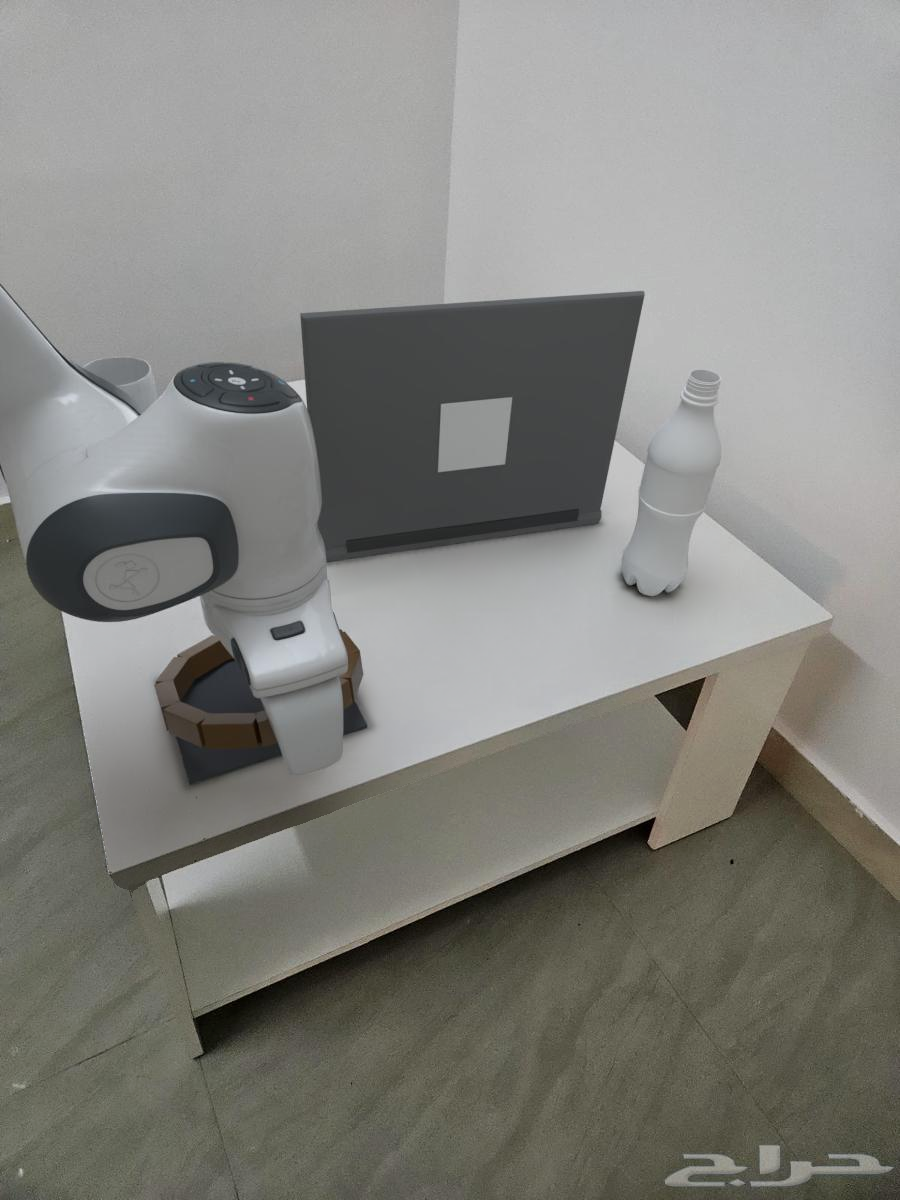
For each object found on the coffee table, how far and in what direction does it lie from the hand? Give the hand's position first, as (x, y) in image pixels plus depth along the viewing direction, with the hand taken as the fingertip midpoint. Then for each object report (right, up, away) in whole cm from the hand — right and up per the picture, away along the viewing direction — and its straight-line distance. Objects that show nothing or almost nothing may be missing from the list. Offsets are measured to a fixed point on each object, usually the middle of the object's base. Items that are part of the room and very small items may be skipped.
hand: (282, 719), depth 66 cm
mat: (-4, 0, +10) cm, 10 cm away
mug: (-31, +31, +43) cm, 62 cm away
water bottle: (+36, +12, +26) cm, 46 cm away
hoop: (-3, +2, +7) cm, 8 cm away
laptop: (+12, +25, +40) cm, 49 cm away
